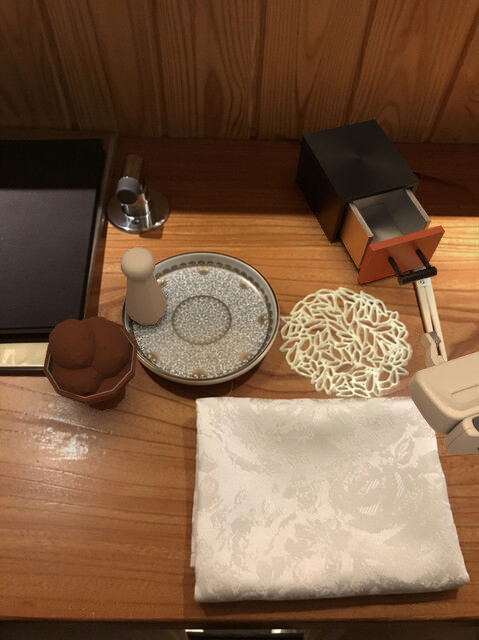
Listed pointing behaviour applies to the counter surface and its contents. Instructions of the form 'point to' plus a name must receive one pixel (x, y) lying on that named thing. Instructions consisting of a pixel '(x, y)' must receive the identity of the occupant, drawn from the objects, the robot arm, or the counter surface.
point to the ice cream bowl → (91, 361)
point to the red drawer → (390, 237)
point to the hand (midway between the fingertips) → (459, 324)
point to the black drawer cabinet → (348, 170)
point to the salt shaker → (142, 287)
